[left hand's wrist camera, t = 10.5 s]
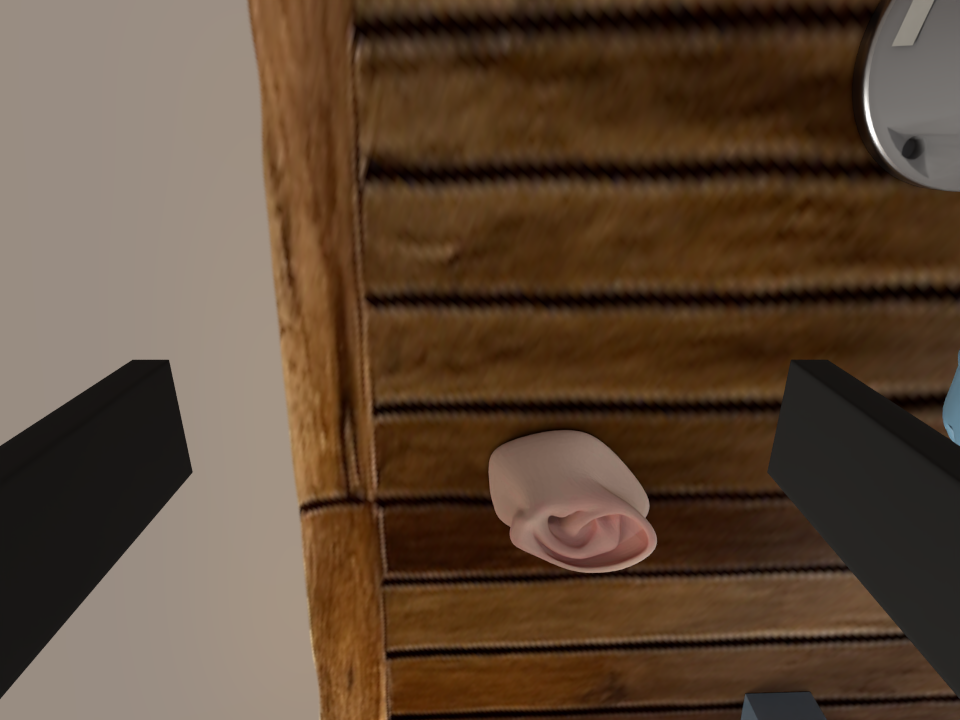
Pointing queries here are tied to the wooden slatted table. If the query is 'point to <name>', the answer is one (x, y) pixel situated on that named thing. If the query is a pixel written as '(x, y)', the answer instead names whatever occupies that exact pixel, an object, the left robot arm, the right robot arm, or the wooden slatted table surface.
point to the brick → (781, 706)
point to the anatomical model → (571, 501)
